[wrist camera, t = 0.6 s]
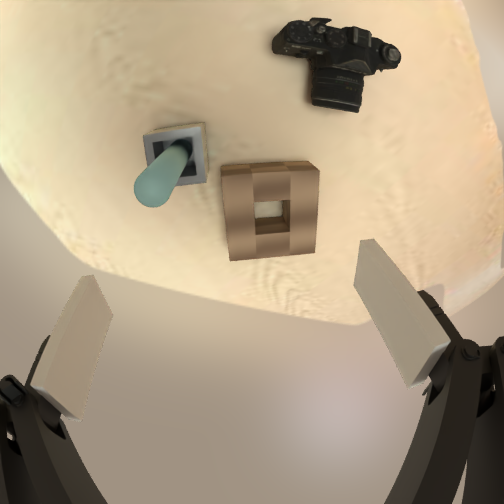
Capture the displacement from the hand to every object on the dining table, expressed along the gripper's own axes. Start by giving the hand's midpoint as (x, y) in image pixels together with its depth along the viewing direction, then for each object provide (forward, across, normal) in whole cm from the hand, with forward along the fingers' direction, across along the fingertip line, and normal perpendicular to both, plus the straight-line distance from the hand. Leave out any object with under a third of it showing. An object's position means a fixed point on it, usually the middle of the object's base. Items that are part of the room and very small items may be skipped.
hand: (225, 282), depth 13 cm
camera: (+27, +14, +11) cm, 32 cm away
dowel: (+26, -5, +2) cm, 26 cm away
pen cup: (+26, -5, +2) cm, 27 cm away
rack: (+26, +5, -8) cm, 28 cm away
